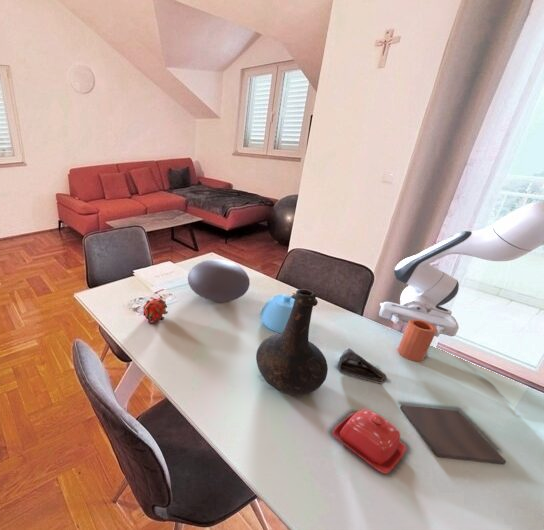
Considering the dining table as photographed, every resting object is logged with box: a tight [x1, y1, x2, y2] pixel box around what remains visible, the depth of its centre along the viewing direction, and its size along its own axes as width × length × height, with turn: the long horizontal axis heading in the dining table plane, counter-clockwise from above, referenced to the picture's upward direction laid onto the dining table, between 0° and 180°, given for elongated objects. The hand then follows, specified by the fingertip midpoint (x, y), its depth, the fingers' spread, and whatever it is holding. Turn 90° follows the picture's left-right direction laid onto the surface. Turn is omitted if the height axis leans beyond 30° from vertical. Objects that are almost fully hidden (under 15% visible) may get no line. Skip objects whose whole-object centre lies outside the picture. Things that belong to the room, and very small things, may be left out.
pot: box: [397, 319, 437, 362], centre depth 96 cm, size 6×6×11 cm
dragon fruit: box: [142, 297, 169, 324], centre depth 115 cm, size 8×8×12 cm
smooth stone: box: [187, 259, 251, 303], centre depth 129 cm, size 25×25×15 cm
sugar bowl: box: [259, 293, 295, 334], centre depth 111 cm, size 15×15×12 cm
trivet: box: [399, 404, 507, 465], centre depth 73 cm, size 13×13×1 cm
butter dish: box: [332, 408, 407, 475], centre depth 69 cm, size 12×12×8 cm
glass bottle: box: [255, 288, 329, 396], centre depth 82 cm, size 18×18×28 cm
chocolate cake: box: [337, 347, 388, 385], centre depth 92 cm, size 10×7×12 cm
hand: (416, 329), depth 100 cm, fingers open, 8 cm apart
